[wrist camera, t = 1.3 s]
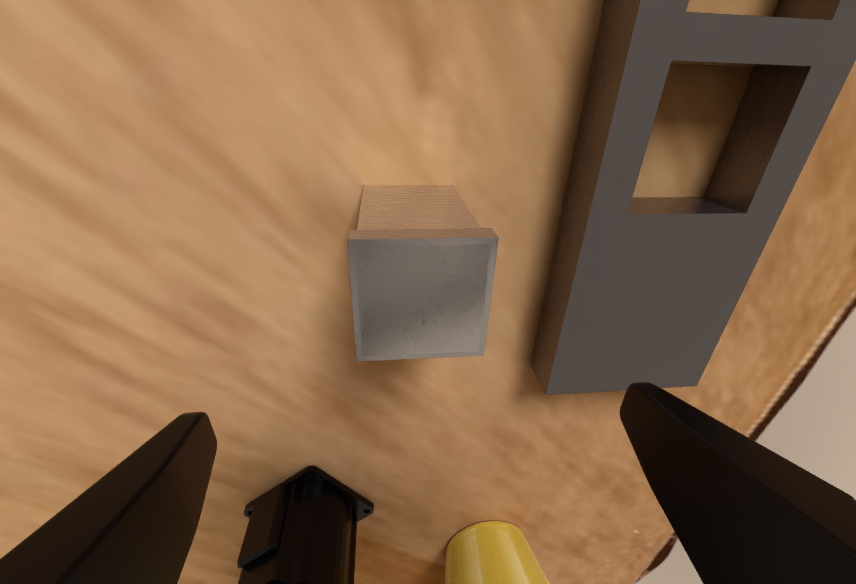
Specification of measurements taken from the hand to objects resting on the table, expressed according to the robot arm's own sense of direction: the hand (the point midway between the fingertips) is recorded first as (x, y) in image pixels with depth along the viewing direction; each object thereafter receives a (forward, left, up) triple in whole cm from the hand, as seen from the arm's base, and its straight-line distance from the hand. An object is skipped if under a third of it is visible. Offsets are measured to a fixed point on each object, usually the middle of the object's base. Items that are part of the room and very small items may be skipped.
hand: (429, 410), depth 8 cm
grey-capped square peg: (0, 0, -12) cm, 12 cm away
